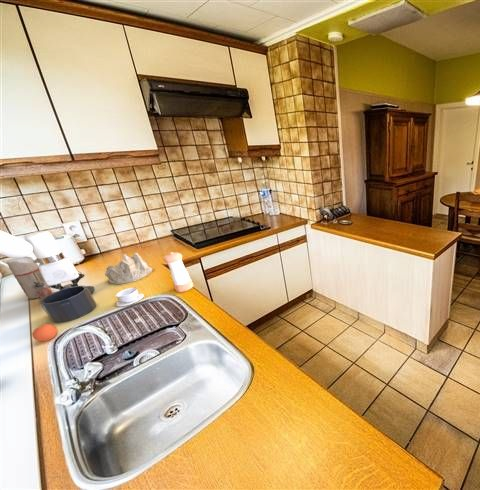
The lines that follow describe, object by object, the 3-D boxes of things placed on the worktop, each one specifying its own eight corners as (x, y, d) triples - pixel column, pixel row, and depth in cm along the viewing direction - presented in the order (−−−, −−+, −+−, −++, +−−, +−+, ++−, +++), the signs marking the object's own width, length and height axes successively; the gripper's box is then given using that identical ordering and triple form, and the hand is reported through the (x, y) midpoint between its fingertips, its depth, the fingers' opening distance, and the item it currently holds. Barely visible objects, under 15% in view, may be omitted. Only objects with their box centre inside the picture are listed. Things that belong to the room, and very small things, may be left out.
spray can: (34, 293, 132) (11, 257, 124) (56, 288, 135) (35, 253, 127) (23, 301, 125) (-3, 264, 117) (47, 296, 128) (23, 260, 120)
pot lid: (50, 309, 116) (43, 298, 113) (52, 297, 125) (45, 286, 123) (95, 295, 125) (89, 284, 123) (94, 284, 135) (88, 274, 132)
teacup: (145, 300, 120) (140, 291, 119) (116, 310, 115) (111, 301, 113) (143, 291, 128) (139, 283, 126) (116, 300, 122) (112, 292, 120)
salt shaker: (189, 282, 134) (176, 248, 126) (196, 286, 130) (183, 251, 122) (173, 289, 128) (158, 253, 121) (180, 293, 124) (165, 257, 117)
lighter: (38, 299, 126) (26, 281, 122) (48, 295, 129) (36, 278, 125) (49, 302, 124) (37, 283, 120) (58, 298, 127) (47, 280, 123)
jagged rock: (157, 268, 150) (144, 244, 143) (131, 285, 135) (116, 259, 128) (134, 270, 152) (120, 246, 145) (105, 286, 137) (89, 261, 131)
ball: (36, 347, 96) (27, 334, 93) (38, 339, 100) (29, 327, 97) (60, 338, 100) (52, 325, 97) (61, 331, 104) (53, 318, 101)
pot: (51, 330, 104) (38, 311, 100) (53, 311, 116) (41, 293, 113) (97, 313, 113) (87, 295, 109) (95, 297, 125) (85, 280, 121)
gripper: (22, 268, 109) (46, 304, 117) (77, 254, 120) (96, 288, 127) (24, 263, 114) (47, 298, 122) (77, 250, 125) (95, 283, 132)
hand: (72, 293), depth 124 cm, fingers closed on pot lid, 3 cm apart
